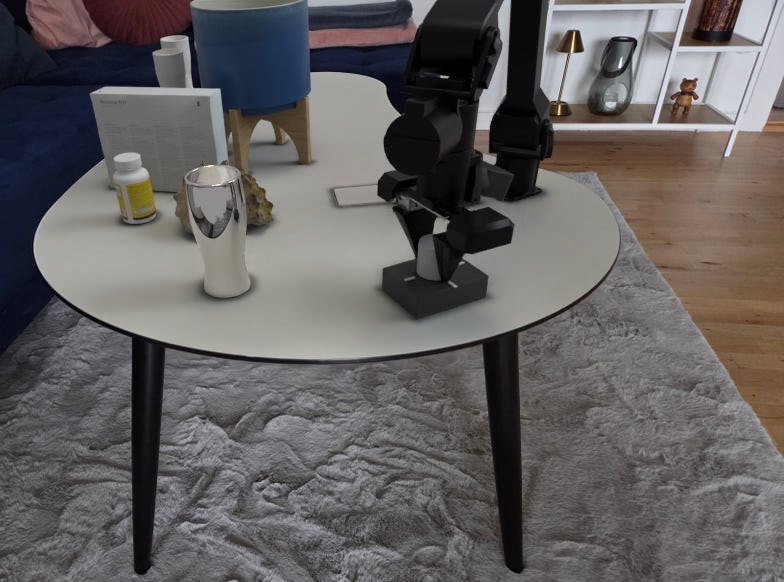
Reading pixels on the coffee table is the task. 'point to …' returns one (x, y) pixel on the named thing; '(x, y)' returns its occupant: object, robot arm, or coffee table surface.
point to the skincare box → (161, 130)
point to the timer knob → (427, 259)
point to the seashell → (254, 199)
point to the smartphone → (358, 196)
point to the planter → (257, 68)
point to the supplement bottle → (133, 189)
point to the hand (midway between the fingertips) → (433, 272)
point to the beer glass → (219, 227)
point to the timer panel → (433, 288)
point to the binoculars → (173, 62)
